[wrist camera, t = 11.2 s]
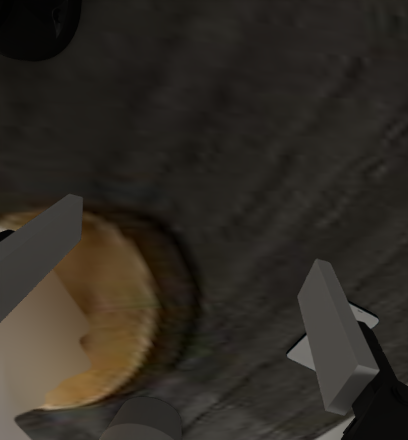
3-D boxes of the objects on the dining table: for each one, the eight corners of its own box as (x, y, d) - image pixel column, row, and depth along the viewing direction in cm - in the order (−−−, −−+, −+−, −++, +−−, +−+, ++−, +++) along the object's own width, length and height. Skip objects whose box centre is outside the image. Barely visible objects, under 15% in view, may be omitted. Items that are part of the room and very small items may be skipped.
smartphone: (319, 369, 56) (380, 316, 49) (320, 374, 55) (382, 320, 48) (283, 352, 55) (339, 295, 48) (283, 356, 55) (341, 298, 47)
